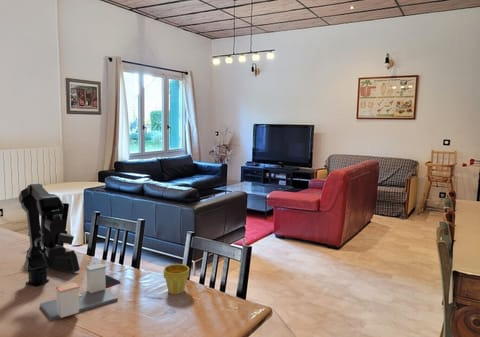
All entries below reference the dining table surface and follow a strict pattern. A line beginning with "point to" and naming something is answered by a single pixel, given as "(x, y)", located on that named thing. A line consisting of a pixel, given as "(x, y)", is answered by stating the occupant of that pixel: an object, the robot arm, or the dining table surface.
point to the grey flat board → (81, 302)
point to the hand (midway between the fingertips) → (50, 267)
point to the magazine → (65, 262)
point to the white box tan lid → (67, 299)
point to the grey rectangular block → (96, 278)
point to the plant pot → (176, 278)
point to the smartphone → (110, 281)
